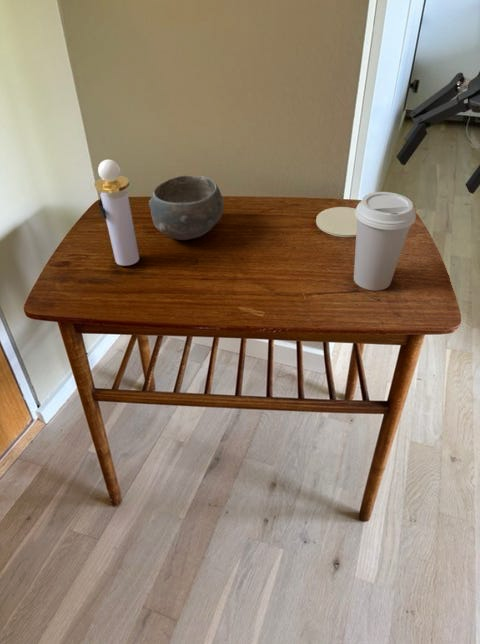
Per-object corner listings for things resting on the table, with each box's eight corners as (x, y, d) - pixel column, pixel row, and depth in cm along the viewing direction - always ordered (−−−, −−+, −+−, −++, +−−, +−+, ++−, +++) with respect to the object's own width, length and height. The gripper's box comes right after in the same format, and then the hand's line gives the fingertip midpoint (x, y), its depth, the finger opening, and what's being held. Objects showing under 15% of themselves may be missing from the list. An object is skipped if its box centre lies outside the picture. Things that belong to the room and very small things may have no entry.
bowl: (234, 221, 103) (233, 177, 97) (204, 259, 92) (200, 212, 86) (176, 211, 107) (171, 167, 101) (141, 246, 96) (132, 200, 90)
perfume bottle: (141, 252, 95) (123, 151, 82) (144, 268, 91) (126, 164, 77) (112, 256, 94) (88, 155, 81) (113, 272, 90) (89, 169, 76)
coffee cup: (341, 291, 84) (352, 213, 74) (348, 261, 91) (359, 186, 81) (398, 300, 82) (417, 221, 72) (401, 269, 89) (419, 193, 79)
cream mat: (385, 222, 102) (385, 220, 101) (350, 244, 95) (350, 241, 95) (339, 204, 108) (339, 201, 108) (304, 223, 102) (304, 220, 102)
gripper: (599, 91, 72) (506, 213, 75) (454, 58, 87) (382, 161, 90) (598, 58, 66) (498, 191, 69) (443, 29, 81) (367, 139, 84)
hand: (432, 174), depth 80 cm, fingers open, 13 cm apart
